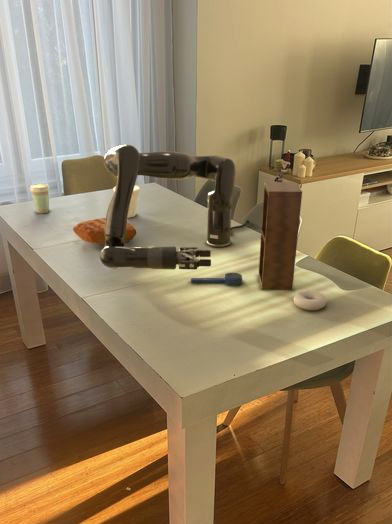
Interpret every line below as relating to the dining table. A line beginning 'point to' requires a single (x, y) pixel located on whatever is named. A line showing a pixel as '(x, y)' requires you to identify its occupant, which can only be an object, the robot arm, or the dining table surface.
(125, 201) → the robot arm
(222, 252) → the dining table surface
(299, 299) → the donut
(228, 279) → the blue elongated piece
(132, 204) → the cup
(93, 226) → the cuneiform tablet
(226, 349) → the dining table surface
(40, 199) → the coffee cup
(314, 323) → the dining table surface
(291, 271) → the shelf
